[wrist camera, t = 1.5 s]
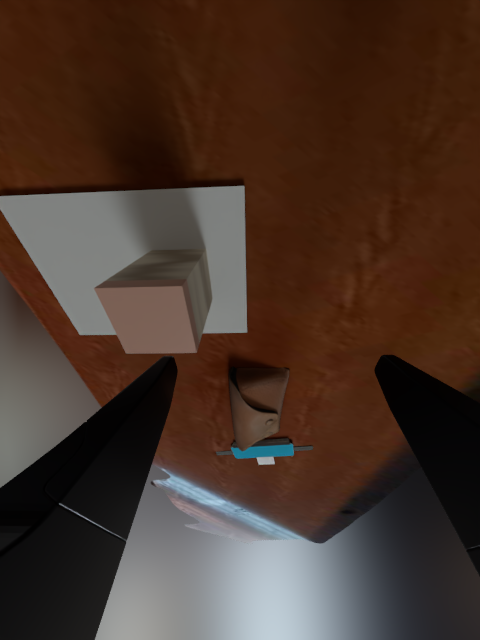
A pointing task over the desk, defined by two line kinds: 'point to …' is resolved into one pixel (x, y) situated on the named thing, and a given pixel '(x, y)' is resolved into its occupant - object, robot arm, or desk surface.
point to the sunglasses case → (256, 402)
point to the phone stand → (266, 450)
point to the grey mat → (133, 244)
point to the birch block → (159, 301)
